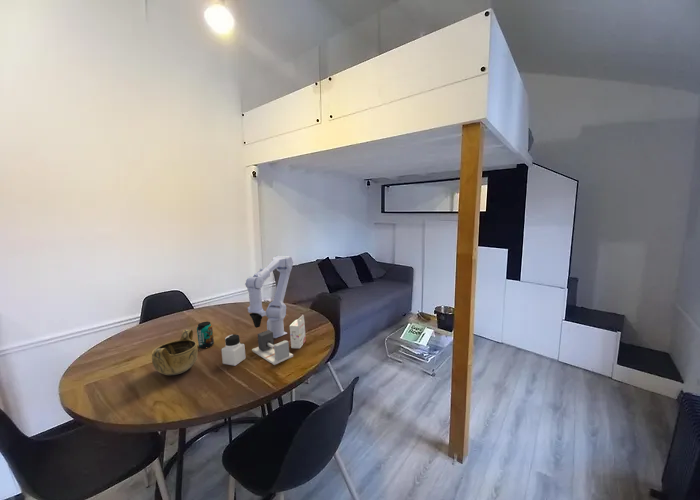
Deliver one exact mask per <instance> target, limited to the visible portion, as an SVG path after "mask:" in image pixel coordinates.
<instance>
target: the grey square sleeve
mask: <svg viewBox="0 0 700 500" xmlns="http://www.w3.org/2000/svg"><path fill="white" fill-rule="evenodd" d="M266 342H269V343H271V344H272V345H274V344H275V341H274V338H273V332H272V331H270V330H265V331H261V332H259V333H257V343H258V345H257V347H259V349H260V350H262V351H265V350H267V349H269V348H271V347H270V346H268V345H266Z"/></svg>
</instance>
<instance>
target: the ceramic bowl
mask: <svg viewBox="0 0 700 500" xmlns="http://www.w3.org/2000/svg"><path fill="white" fill-rule="evenodd" d="M193 337H194V331H193V329H183V330H182V332H181V335H180V339H179V340H173V341H170V342H166V343H163V344H160V345H158V346H157V347H155V348H154V349H152V352H151V360H152V361H151V362H152V365H153V367H154V370H155V371H157V372H158V373H160V374H162V375H165V376H177V375H181V374H183V373H185V372H187V371H188V370H189V369H191V368H192V367H193V366H194V364H195V362H196V361H197V358H198V351H199V350H198V345H197V342H196V341H195V340H193Z"/></svg>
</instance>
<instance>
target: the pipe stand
mask: <svg viewBox="0 0 700 500" xmlns="http://www.w3.org/2000/svg"><path fill="white" fill-rule="evenodd" d="M266 345H268V346H270V347H271V348H269V349H267V350H265V351H262V350H260V349H259V346H257V347H254V348H252V349H251V351H252V352H253V353H254V354H256V355H258V356H259V357H261V358H263V359H264V360H265V361H267V362H268V363H271V364H272V365H274V366H276V365H278V364H279V363H281V362H282V363H283V362H284V361H286V360H289V359H291V358H293V357H294V354H293V353H291V352H290V346H289V345H290V344H289V341H288V340H285V339H284V340H283V341H280V342H278V343H274V345H272V344H271V343H269V342H266Z"/></svg>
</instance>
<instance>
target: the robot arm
mask: <svg viewBox="0 0 700 500" xmlns="http://www.w3.org/2000/svg"><path fill="white" fill-rule="evenodd" d="M293 265H294V261H293V258H292V256H291V255H287V256H286V255H285V256H284V255H275V256H274V257H272V259H271V261H270V263H268V265H267V266H266V267H262V268H259V270H258V271H257V272H256V273H254V274H253V276H249V277H247V279H246V280H245V284H244V285H245V287H246V289H247V292H248V298H249V299H248V301H249V306H247V313H249V317H250V318H251V320H252V322H253V324H254V325H253V326H254V327H255V328H260V327H261V323H262V319H263V317H266V318H267V321H266V329H267V330H270V331H272V332H273V339H277V338H279V337H282V336H285V335H287V334H288V332H286V331H285V328H284V327H285V326H284V319H285V317H286V315H287V305H286V304H285V303H284V300H285V295H286V291H287V287H288V284H289V278H290V275H291V272H292V268H293ZM275 270H276V271H277V272H279V278H278V281H277V286H276V290H275V292H274V296H273V297H274V298H273V300H272V301H271V302H270V303H268V306H267V308H266V310H264V308H263V301H262V288H263V286H264V282H265V281H266V280H267V279H268V278H269V277H271V273H272V272H273V271H275ZM267 330H266V331H267Z"/></svg>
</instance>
